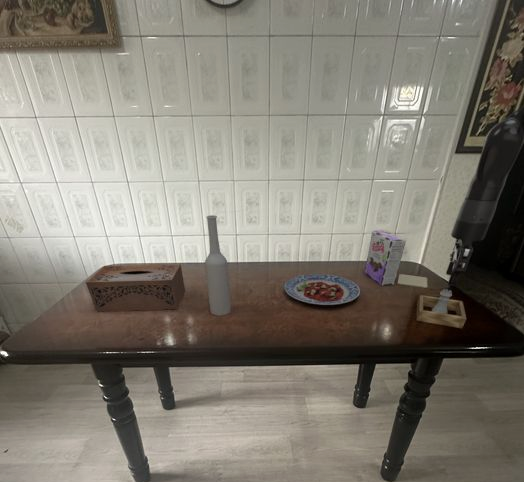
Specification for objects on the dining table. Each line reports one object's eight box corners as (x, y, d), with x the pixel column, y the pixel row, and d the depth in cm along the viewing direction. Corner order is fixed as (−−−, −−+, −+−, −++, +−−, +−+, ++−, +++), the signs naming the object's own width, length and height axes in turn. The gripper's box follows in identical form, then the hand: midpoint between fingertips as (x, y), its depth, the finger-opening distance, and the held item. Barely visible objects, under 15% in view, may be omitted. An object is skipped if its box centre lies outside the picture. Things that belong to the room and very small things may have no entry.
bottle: (230, 305, 99) (223, 213, 83) (232, 314, 93) (224, 218, 77) (210, 306, 98) (198, 214, 82) (210, 316, 92) (198, 219, 76)
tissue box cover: (96, 312, 96) (85, 282, 90) (113, 293, 107) (104, 265, 102) (177, 309, 96) (172, 280, 91) (185, 291, 108) (180, 263, 102)
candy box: (363, 272, 121) (371, 230, 112) (377, 271, 122) (386, 229, 113) (380, 286, 110) (391, 240, 101) (395, 284, 111) (407, 239, 102)
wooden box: (458, 310, 94) (462, 301, 92) (462, 328, 85) (466, 318, 83) (417, 303, 98) (419, 294, 96) (416, 320, 89) (419, 310, 87)
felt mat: (426, 278, 116) (427, 277, 115) (426, 288, 108) (427, 287, 108) (399, 274, 119) (399, 273, 119) (397, 284, 112) (397, 283, 111)
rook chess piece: (444, 320, 89) (454, 295, 84) (428, 316, 91) (436, 291, 87) (447, 314, 92) (457, 290, 87) (431, 310, 94) (440, 286, 89)
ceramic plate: (370, 289, 107) (371, 281, 106) (339, 318, 91) (340, 309, 89) (307, 274, 120) (308, 267, 119) (270, 297, 103) (270, 288, 102)
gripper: (496, 226, 69) (468, 291, 78) (486, 214, 80) (463, 273, 89) (459, 223, 72) (437, 287, 81) (454, 212, 82) (435, 269, 92)
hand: (450, 279), depth 85 cm, fingers open, 8 cm apart
